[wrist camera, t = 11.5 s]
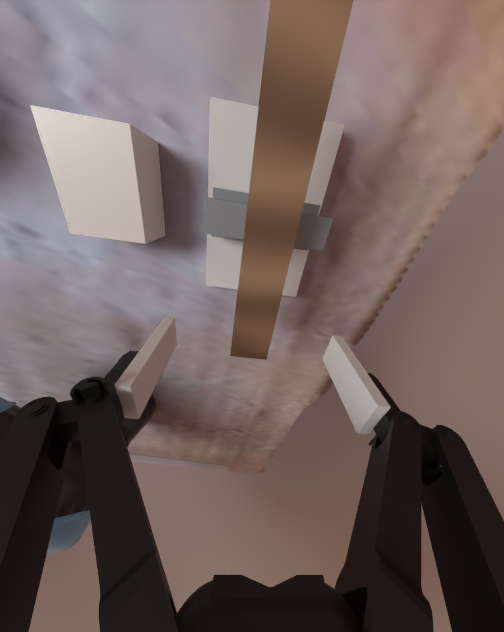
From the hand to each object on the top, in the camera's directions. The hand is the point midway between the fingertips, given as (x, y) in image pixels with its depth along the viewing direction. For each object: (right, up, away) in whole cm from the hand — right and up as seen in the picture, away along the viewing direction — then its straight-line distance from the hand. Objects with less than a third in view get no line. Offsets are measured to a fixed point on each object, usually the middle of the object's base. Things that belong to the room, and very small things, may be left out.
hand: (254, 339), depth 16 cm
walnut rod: (+1, +11, +2) cm, 11 cm away
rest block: (-16, +18, +8) cm, 25 cm away
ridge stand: (+1, +15, +10) cm, 18 cm away
